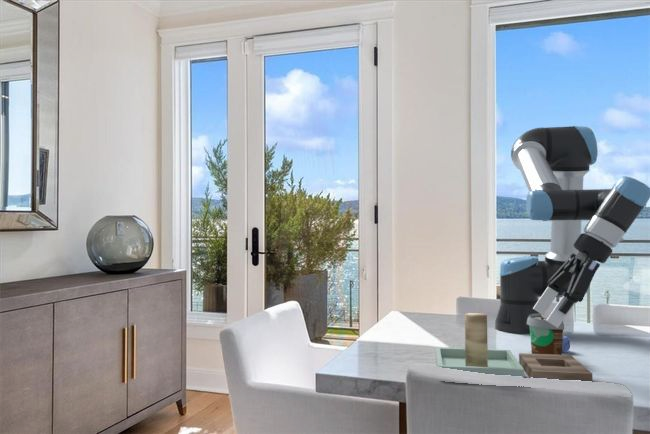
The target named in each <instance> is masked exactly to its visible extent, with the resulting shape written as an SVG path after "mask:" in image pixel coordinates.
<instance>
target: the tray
mask: <svg viewBox="0 0 650 434" xmlns="http://www.w3.org/2000/svg"><path fill="white" fill-rule="evenodd" d="M487 352H488V367H475V366H466V362H465V348H464V347H463V348H461V347H460V348H459V347H438V346H436V347H435V362H436V363H435V364H436V367H437V366H438V367H442V368H450V369H457V370H463V371H470V372H478V373H485V374H495V375H511V376H522V377H524V378H525V371H524V369H523V367H522V366H521V365H520V363H519V360H518V359H517V358H516V356H515V355H514V354H513V352H512V351H511V350H510V349H497V348H496V349H493V348H492V349H491V348H490V349H489V348H487Z"/></svg>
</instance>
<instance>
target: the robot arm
mask: <svg viewBox="0 0 650 434" xmlns="http://www.w3.org/2000/svg"><path fill="white" fill-rule="evenodd" d="M511 147H512V148H511V151H510V156H511V157H510V158H511V162H512V164H513V165H514V166H515V167H516V169H518V170H519V171H520V173H521V175H522V177H523V180H524V183H525V184H526V187H527V189H528V192H527V194H526V200H525V209H526V215H527V217H528V219H530V220H531V221H542V222H548V221H551V227H550V229H551V231H550V250H549V251H547V252H546V253H545V257H544V260H539V258H538V257H537V256H534V255H532V256H520V257H518V256H517V257H512V258H508V259H504V260H502V261H501V263H500V268H499V276H500V278H499V279H500V283H499V284H500V286H499V287H500V289H499V291H500V292H499V293H500V297H499V298H500V300H499V301H500V302H499V304H500V306H499V309H498V311H497V314H496V317H495V320H494V329H496V330H498V331H502V332H506V333H514V334H530V327H529V325H528V324H527V319H528V317H529V315H531V314H537V313H540V314H541V317H543V316H544V315H545V313H546V312H547V311H548V309H549V307H550V306H551V304H552V303H553V302H554V301H555V300H556V298H560V299H559V301H558V302H557V304H556V305H555V306H554V308H553V310H551V313H550V314H549V315H548V317H546V318H547V319H546V321H548V322H549V323H551V324H552V325H554V326H555V327H557V328H558V327H559V326H560V324H561V323H562V321H563V322H564V319H565V318H566V317H567V316H568V314H569V312H570V311H571V310H572V309H573V307H574V306H575V304H577V303H578V302H579V303H581V302H583V300H584V298H585V296H586V294H587V293H588V291H589V289H590V287H591V282H592V280H593V279H594V277H595V274H596V272H597V270H598V269H599V268H600V266H601V264H605V263H606V262H607V261H608V259H609V257H610V256H611V255H612V253H613V248H616V247H617V246H618V244H619V243H620V242H623V241H624V240H625V239H624V238H623V237H624V236H625V234H626V233H627V231H628V230H629V229H630V227H631V226H632V225H633V223H634V222H635V221H636V219H637V218H638V217H639V215H640V213H641V212H642V211H643V209H644V208H645V207H646V206H647V204H648V202H649V200H650V187H649V186H648V185H647V184H645V183H644V182H642V181H640V180H638V179H636V178H634V177H631V176H626V175H625V176H620V177H619V179H618V180H617V181H615V183H613V184H612V188H604V189H603V188H602V189H601V188H600V189H599V188H597V189H595V188H594V189H584V178H585V175H586V174H588V172H590V166H592V165H594V164H596V162H597V161H598V160H597V158H598V155H599V154H598V141H597V137H596V135H595V133H594V131H593V130H592V129H591V128H590V127H588V126H581V125H580V126H579V125H572V126H571V125H570V126H554V127H552V126H551V127H535V128H532V129H529V130H526V131H525V132H524V133H522V134H521V135H519V137H517V139H516V140H515V141H514V143H513V145H512V146H511ZM582 221H588V222H587V224H586V225H585V227H584V228H583V232H584V233H583V232H582Z"/></svg>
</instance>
